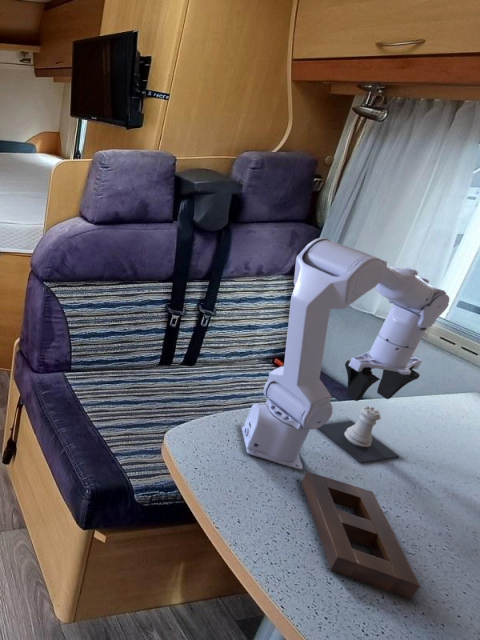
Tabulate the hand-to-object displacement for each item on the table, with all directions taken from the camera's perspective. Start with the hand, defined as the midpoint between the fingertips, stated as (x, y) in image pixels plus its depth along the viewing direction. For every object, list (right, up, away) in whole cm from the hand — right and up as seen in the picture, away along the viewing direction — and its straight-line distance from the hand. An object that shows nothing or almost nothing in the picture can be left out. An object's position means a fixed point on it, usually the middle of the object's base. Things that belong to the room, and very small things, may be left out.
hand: (367, 396), depth 94 cm
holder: (-19, -17, -18) cm, 31 cm away
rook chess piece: (0, -10, +3) cm, 10 cm away
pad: (0, -10, +3) cm, 11 cm away
